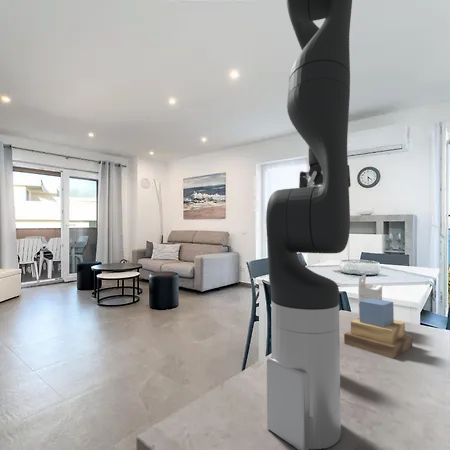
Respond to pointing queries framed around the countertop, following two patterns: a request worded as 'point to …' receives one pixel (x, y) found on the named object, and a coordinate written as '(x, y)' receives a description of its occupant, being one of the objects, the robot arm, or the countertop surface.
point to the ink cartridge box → (368, 291)
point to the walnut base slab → (379, 345)
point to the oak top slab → (379, 331)
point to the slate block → (376, 312)
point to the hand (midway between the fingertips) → (323, 206)
